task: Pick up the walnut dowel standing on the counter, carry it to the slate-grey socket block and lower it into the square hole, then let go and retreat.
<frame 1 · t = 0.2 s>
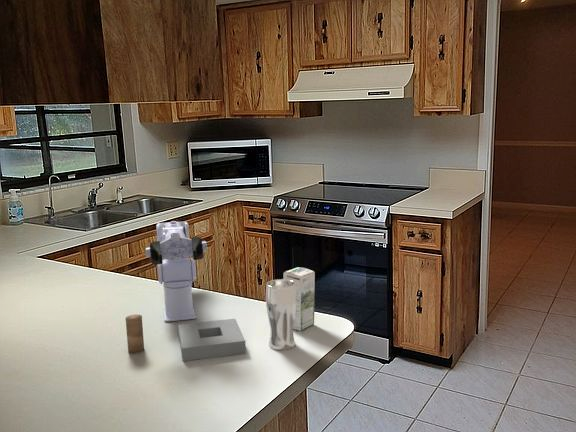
hand: (177, 257, 124), 21 cm above the worktop, tool horizontal, fingers open, 7 cm apart
beer glass: (282, 345, 128), on the worktop
socket block: (210, 344, 129), on the worktop
syrup box: (299, 326, 139), on the worktop
dowel: (136, 349, 126), on the worktop
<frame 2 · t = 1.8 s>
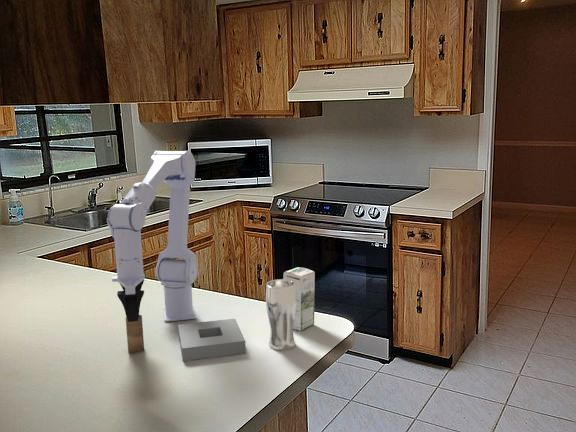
hand: (133, 314, 125), 9 cm above the worktop, tool pointing down, fingers open, 7 cm apart
nothing on the worktop moved.
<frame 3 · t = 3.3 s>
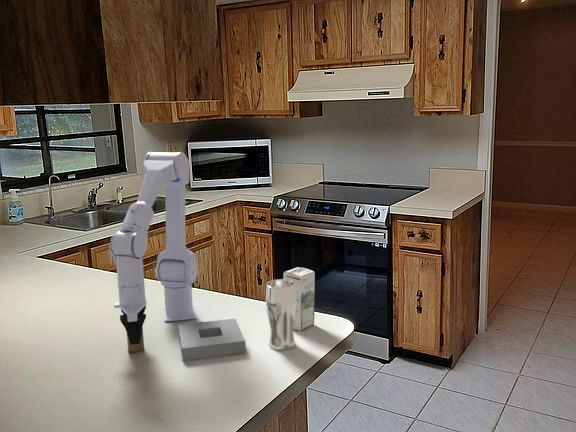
hand: (135, 340, 126), 2 cm above the worktop, tool pointing down, fingers closed on dowel, 4 cm apart
dowel: (136, 349, 126), on the worktop, touching gripper
everything else where it was.
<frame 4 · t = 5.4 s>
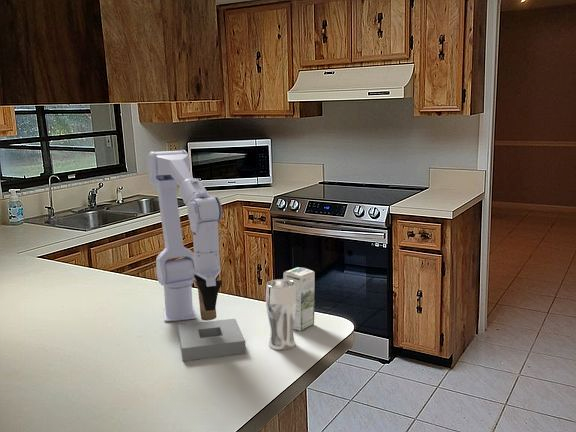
hand: (209, 306, 127), 9 cm above the worktop, tool pointing down, fingers closed on dowel, 4 cm apart
dowel: (208, 317, 127), point 7 cm above the worktop, touching gripper
everything else where it was.
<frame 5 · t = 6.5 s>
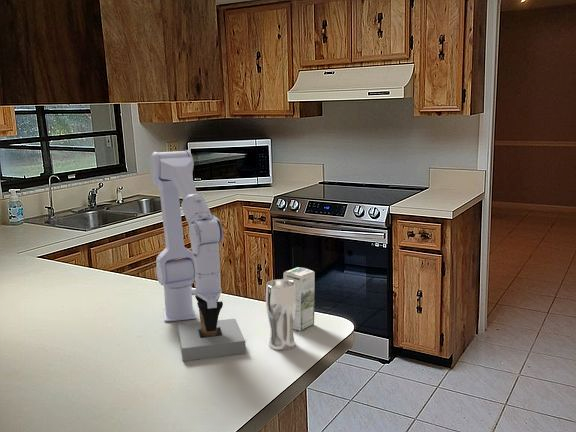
hand: (210, 327, 128), 4 cm above the worktop, tool pointing down, fingers closed on dowel, 4 cm apart
dowel: (209, 337, 128), point 2 cm above the worktop, touching gripper
everything else where it was.
when the fingers open (4 cm above the worktop, at t = 7.3 s): dowel drops 1 cm, resting in socket block.
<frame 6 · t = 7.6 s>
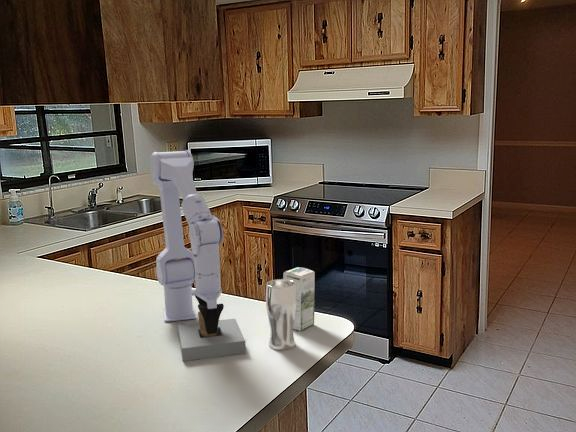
hand: (210, 327, 128), 4 cm above the worktop, tool pointing down, fingers open, 6 cm apart
dowel: (209, 344, 128), resting in socket block
everything else where it was.
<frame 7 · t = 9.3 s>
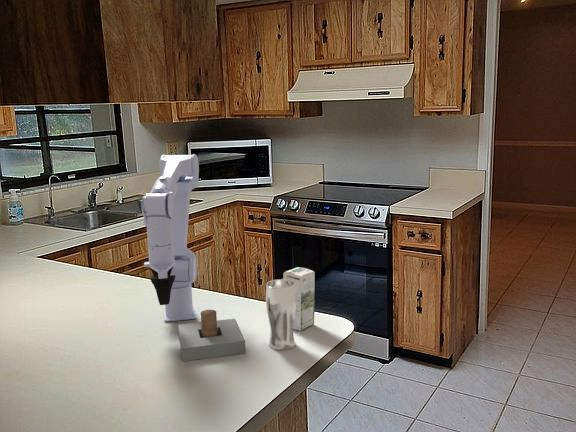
hand: (163, 298, 131), 10 cm above the worktop, tool pointing down, fingers open, 7 cm apart
nothing on the worktop moved.
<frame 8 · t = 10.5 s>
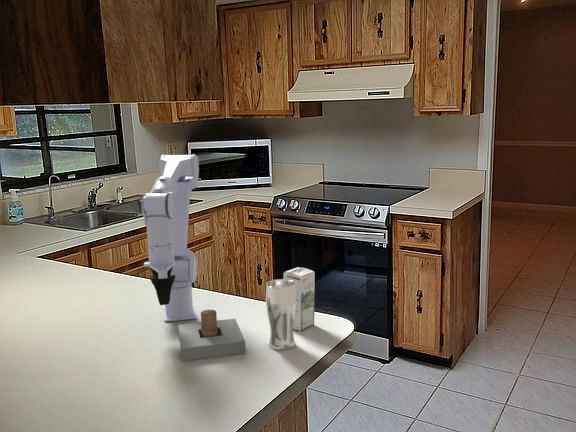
hand: (163, 298, 131), 10 cm above the worktop, tool pointing down, fingers open, 7 cm apart
nothing on the worktop moved.
at the end: dowel 0.2 cm off-centre on the socket block, point 0.0 cm above the socket block's base; dowel tilted 0°; the gripper is holding nothing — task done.
